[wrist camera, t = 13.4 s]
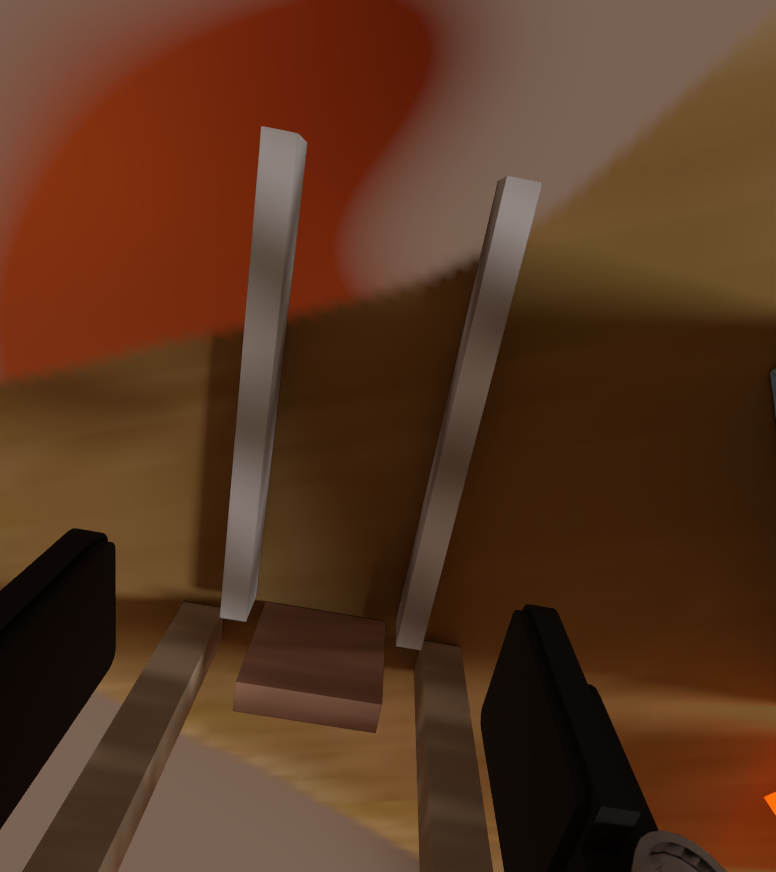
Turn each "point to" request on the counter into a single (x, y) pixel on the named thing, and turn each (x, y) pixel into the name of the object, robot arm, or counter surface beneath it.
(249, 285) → the metal strip frame
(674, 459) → the counter surface
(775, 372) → the gum box
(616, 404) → the counter surface
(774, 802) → the orange juice
